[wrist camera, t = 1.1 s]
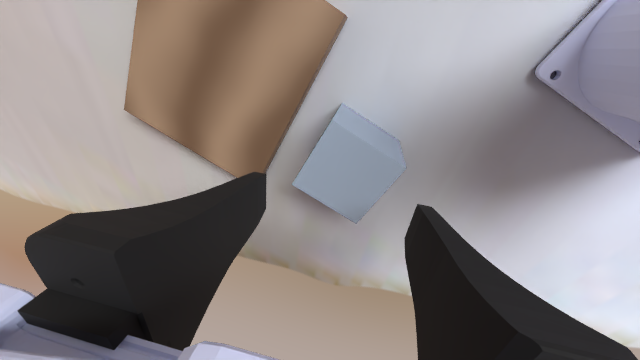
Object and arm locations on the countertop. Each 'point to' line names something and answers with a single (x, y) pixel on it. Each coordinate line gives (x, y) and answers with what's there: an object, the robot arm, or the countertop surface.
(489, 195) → the countertop surface
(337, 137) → the slate cube
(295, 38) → the walnut board
